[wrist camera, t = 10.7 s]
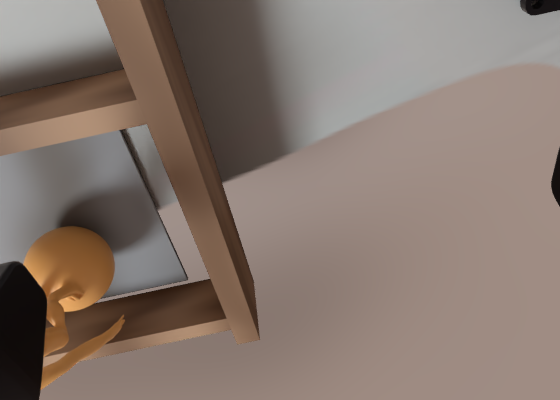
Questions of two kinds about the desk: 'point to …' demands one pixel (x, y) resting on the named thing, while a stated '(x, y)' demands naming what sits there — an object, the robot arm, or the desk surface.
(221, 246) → the notched stand
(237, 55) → the desk surface
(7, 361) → the robot arm
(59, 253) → the figurine
